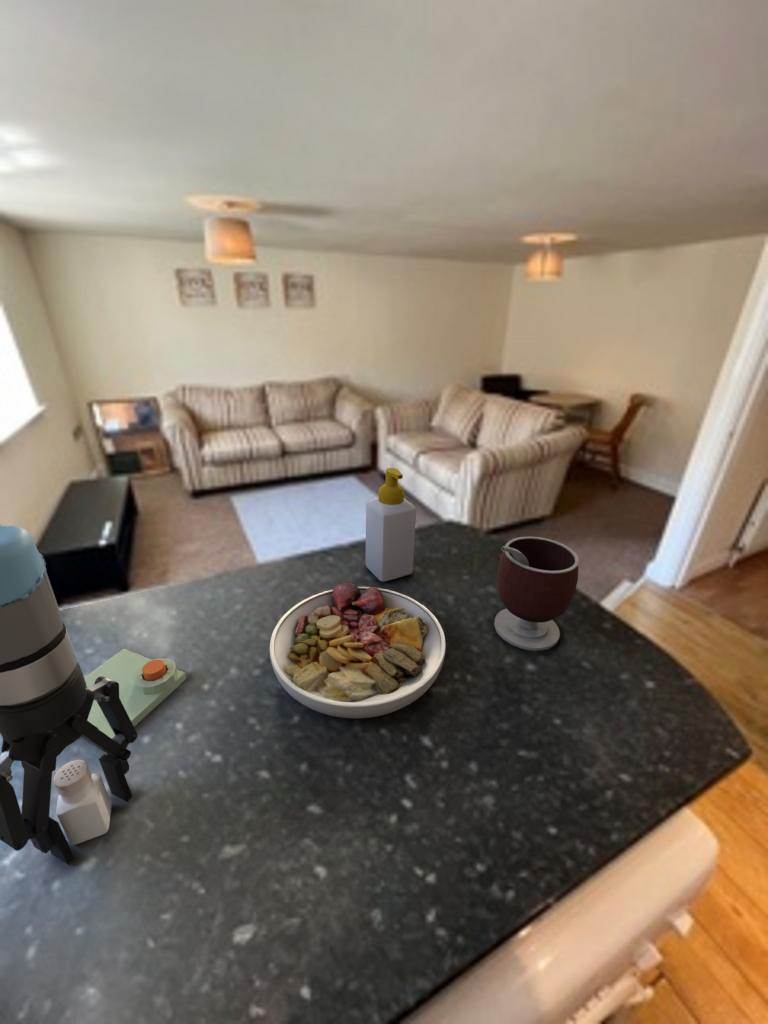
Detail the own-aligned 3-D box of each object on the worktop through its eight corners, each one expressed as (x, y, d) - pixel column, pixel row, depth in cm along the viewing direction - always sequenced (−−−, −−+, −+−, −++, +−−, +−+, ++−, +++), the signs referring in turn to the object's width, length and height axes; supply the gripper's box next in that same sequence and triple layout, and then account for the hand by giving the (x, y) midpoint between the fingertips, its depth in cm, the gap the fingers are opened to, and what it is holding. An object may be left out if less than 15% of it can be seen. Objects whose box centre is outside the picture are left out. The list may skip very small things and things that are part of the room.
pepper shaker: (75, 815, 54) (52, 763, 50) (113, 802, 56) (93, 750, 52) (69, 849, 51) (44, 796, 47) (109, 834, 52) (88, 781, 48)
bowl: (473, 706, 70) (478, 668, 67) (278, 751, 63) (274, 711, 59) (410, 596, 96) (412, 565, 93) (267, 619, 89) (263, 586, 85)
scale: (44, 714, 67) (38, 700, 66) (125, 654, 79) (121, 641, 78) (111, 748, 62) (105, 733, 61) (187, 678, 74) (184, 664, 73)
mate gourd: (532, 601, 96) (548, 517, 87) (579, 643, 84) (604, 551, 76) (469, 617, 91) (480, 529, 82) (511, 664, 79) (529, 567, 70)
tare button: (139, 677, 71) (137, 670, 70) (156, 664, 74) (154, 656, 73) (154, 683, 70) (152, 676, 69) (170, 670, 72) (169, 662, 72)
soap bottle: (381, 584, 100) (383, 480, 90) (363, 565, 107) (363, 466, 97) (414, 574, 104) (421, 473, 94) (395, 557, 111) (399, 461, 101)
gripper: (99, 611, 53) (140, 745, 63) (-122, 748, 37) (-20, 901, 46) (145, 628, 51) (181, 764, 60) (-70, 783, 34) (27, 937, 44)
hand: (94, 823), depth 53 cm, fingers open, 7 cm apart
